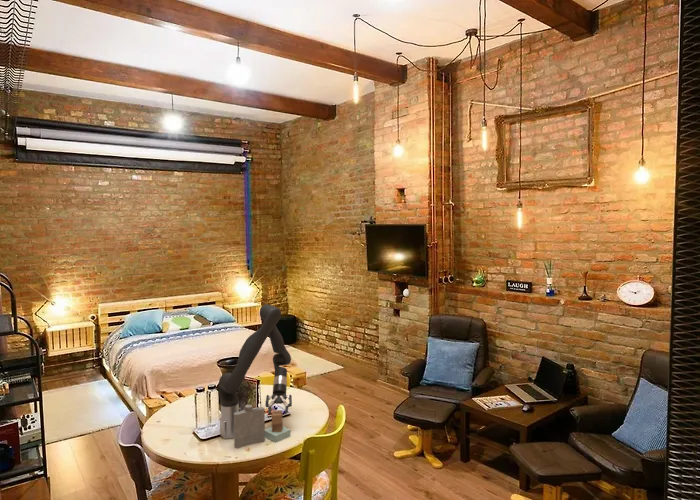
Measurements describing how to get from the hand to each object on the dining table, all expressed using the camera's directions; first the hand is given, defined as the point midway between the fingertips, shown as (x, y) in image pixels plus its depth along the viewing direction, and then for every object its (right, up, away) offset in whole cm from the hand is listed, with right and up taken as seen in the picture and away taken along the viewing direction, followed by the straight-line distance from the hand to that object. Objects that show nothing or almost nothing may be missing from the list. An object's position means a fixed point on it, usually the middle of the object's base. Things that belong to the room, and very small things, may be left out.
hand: (278, 414), depth 250 cm
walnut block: (0, -7, -4) cm, 8 cm away
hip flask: (-13, -11, -11) cm, 21 cm away
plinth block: (0, -11, -3) cm, 12 cm away
